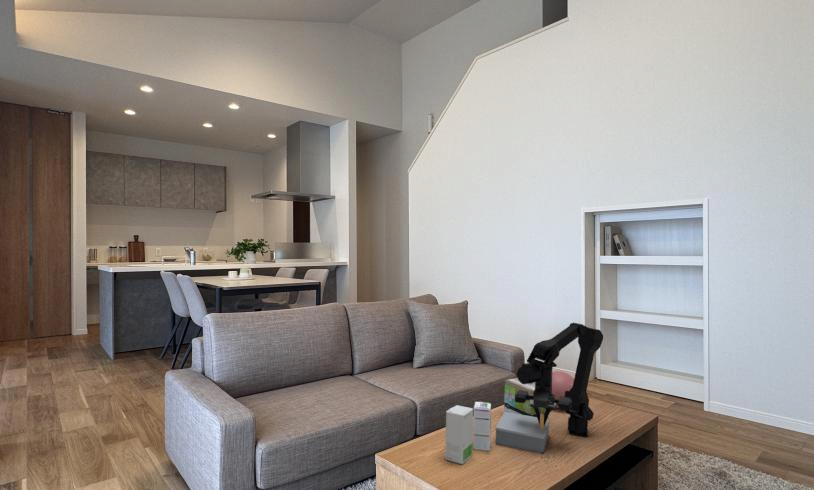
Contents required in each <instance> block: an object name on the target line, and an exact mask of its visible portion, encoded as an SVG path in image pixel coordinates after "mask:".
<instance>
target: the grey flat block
mask: <svg viewBox="0 0 814 490" xmlns="http://www.w3.org/2000/svg"><path fill="white" fill-rule="evenodd" d="M549 425H550V424H549ZM549 425H548V428H547V432H546V435H545V439H541V438H535V437H530V436H525V435H520V434H515V433H509V432H504V431H499V430H495V445H497V446H502V447H507V448H512V449H516V450H517V449H518V450H523V451H526V452H530V453H532V452H533V453H537V454H540V455H541V454H543V455H544V452H545V449H546V446H547V442H548V439H549V428H550V426H549Z"/></svg>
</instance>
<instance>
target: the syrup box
mask: <svg viewBox="0 0 814 490" xmlns="http://www.w3.org/2000/svg"><path fill="white" fill-rule="evenodd" d="M491 432H492V403H491V402H486V401H474V404H473V437H472V450H473V449H474V450H476V451H477V450H478V451H484V452H486V451H487V452H490V450H491V438H492V437H491V436H492V435H491V434H492V433H491Z"/></svg>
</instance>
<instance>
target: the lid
mask: <svg viewBox="0 0 814 490" xmlns="http://www.w3.org/2000/svg"><path fill="white" fill-rule="evenodd" d="M544 417H545V412H544V411H541V413H540V424H539V422H538V419H537V417H532V416H526V415H521V414H515V413H509V412H504V411H503V414H502V416H501V417H500V419H499V421H498V422H497V424H496V425H495V431H496V430H499V431H504V432H509V433H515V434H520V435H525V436H530V437H535V438H541V439H545V435H546V432H547V428H548V425H550V419H549V418H548V419H547V421H546V424H545V425H544Z"/></svg>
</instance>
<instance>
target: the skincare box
mask: <svg viewBox="0 0 814 490" xmlns="http://www.w3.org/2000/svg"><path fill="white" fill-rule="evenodd" d="M445 413H446V414H445V449H444V450H445V453H444V455H445V456H444V457H445V458H444V459H445V460H446V461H450V462H453V463H456V464H459V465H464V463H466V462H468V460H469V459H470V458H471V457H472V456H473V427H474V407H467V406H463V405H458V404H456V405H455V406H453V407H450V408H449V409H448V410H446V411H445Z"/></svg>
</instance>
